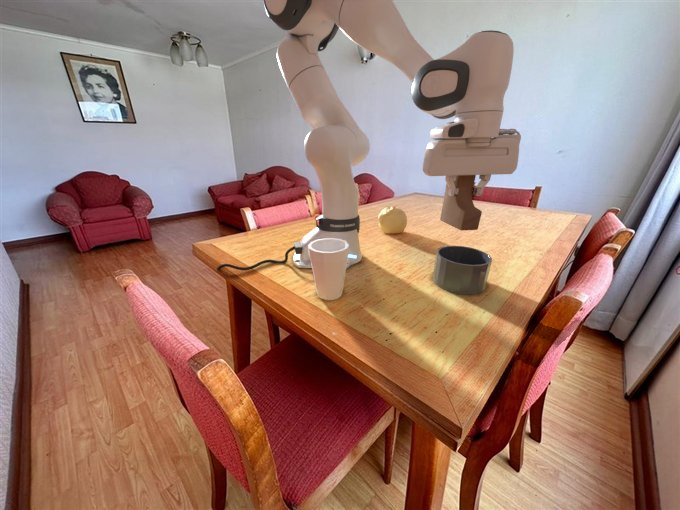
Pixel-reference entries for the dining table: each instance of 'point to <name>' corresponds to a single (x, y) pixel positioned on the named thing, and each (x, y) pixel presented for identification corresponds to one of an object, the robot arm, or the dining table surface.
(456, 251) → the grey short cylinder
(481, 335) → the dining table surface
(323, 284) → the foam cup
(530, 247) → the dining table surface
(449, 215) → the wooden block
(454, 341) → the dining table surface
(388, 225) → the sculpture
